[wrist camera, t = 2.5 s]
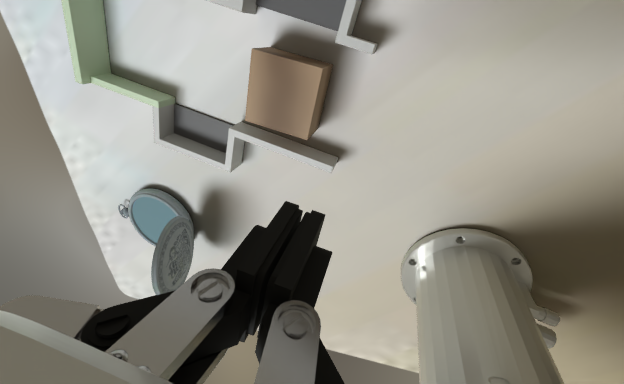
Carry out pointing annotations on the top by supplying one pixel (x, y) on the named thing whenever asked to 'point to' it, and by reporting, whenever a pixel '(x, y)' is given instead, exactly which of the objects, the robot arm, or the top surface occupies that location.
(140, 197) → the pocket watch
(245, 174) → the top surface
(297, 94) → the walnut block
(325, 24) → the box
